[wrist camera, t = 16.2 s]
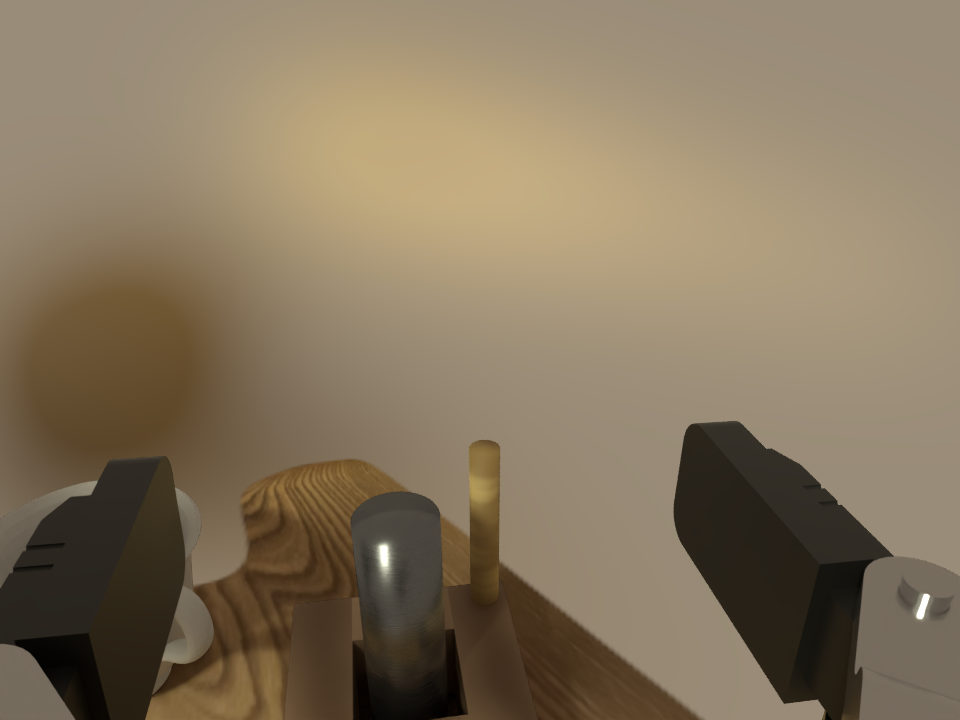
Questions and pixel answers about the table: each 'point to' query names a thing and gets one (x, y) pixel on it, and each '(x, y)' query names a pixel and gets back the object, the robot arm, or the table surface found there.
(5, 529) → the teacup
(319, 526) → the table surface
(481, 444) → the hole block
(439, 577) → the long pin
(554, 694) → the table surface
